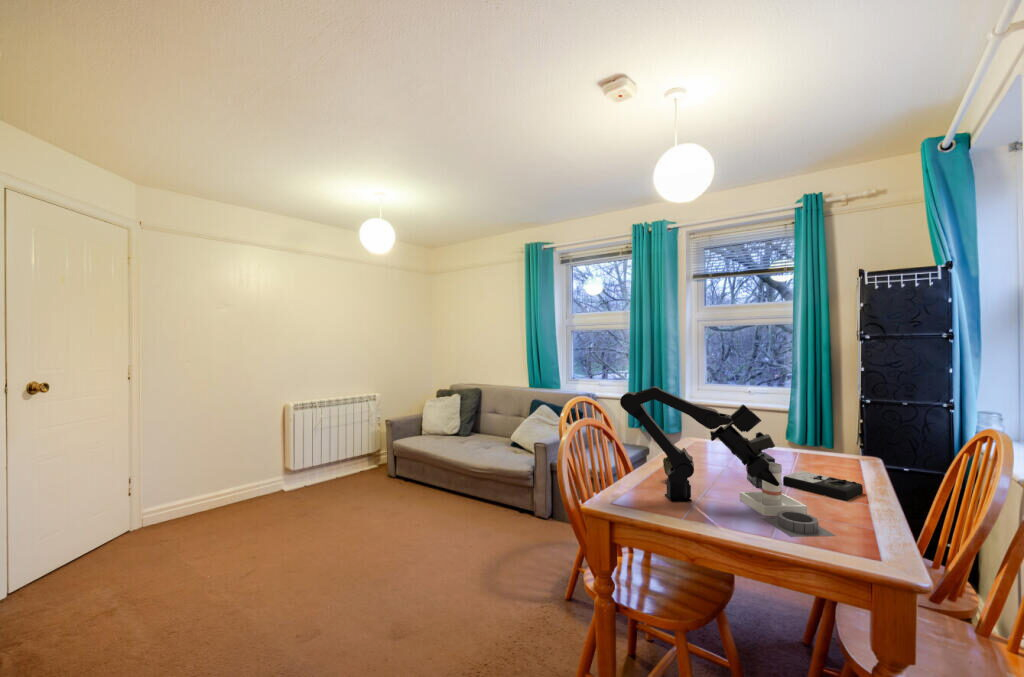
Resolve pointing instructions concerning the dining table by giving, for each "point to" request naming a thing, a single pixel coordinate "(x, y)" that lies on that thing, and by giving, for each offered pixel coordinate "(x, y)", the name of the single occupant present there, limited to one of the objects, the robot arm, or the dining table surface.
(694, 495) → the dining table surface
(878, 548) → the dining table surface
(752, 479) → the small box
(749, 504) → the tray
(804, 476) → the multimeter
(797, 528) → the fuse holder
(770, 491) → the cylinder
